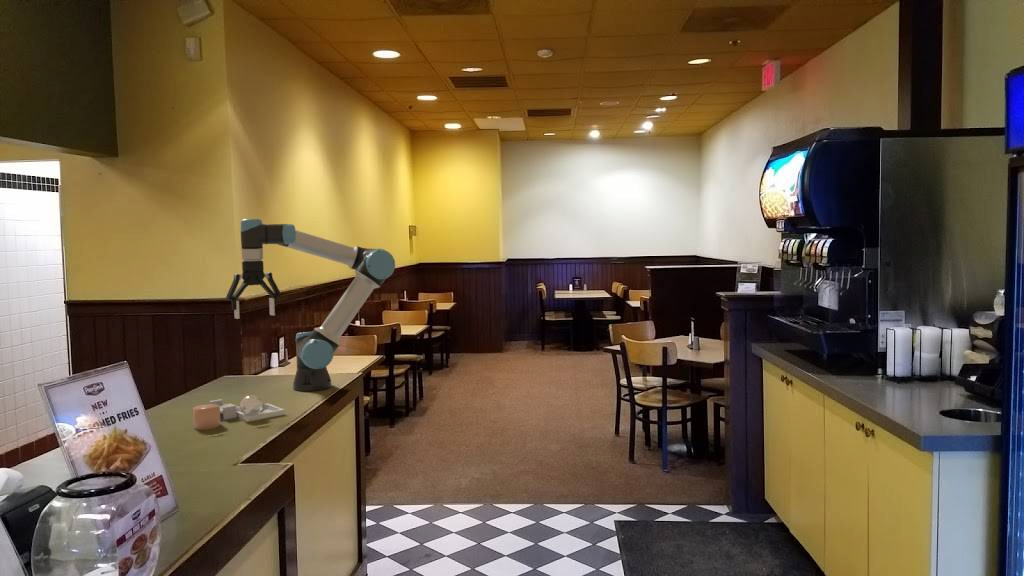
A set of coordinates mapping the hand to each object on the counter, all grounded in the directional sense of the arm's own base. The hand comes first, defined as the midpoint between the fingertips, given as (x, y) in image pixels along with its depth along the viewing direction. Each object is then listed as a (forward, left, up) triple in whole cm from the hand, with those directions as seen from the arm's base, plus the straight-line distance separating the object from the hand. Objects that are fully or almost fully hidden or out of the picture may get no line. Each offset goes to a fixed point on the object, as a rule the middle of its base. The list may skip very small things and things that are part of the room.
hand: (255, 316), depth 267 cm
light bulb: (+9, +23, -29) cm, 38 cm away
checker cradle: (+20, +17, -32) cm, 41 cm away
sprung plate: (+20, +17, -29) cm, 39 cm away
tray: (+11, +25, -32) cm, 42 cm away
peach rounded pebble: (+29, +27, -32) cm, 51 cm away
